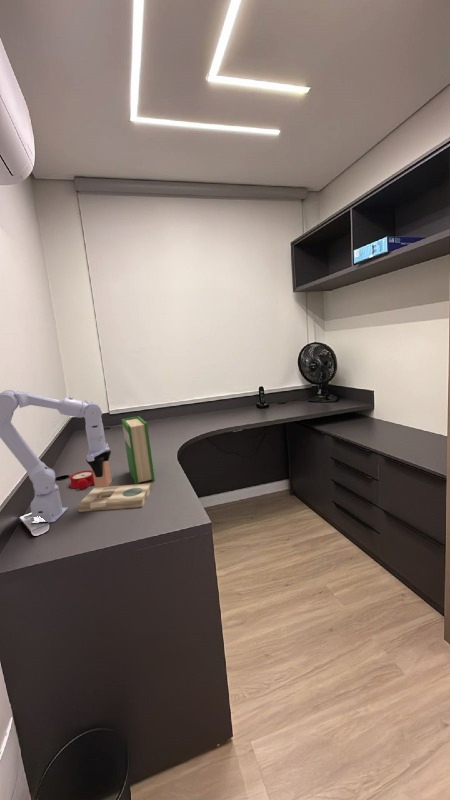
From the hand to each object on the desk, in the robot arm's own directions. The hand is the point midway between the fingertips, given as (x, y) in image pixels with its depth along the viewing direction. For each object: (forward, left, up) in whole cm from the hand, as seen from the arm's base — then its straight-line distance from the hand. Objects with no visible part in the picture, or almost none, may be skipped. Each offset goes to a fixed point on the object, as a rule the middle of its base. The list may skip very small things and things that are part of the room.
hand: (101, 474), depth 123 cm
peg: (0, 0, -4) cm, 4 cm away
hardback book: (+22, -7, -10) cm, 25 cm away
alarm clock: (+18, +16, -11) cm, 26 cm away
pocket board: (0, -4, -10) cm, 11 cm away
